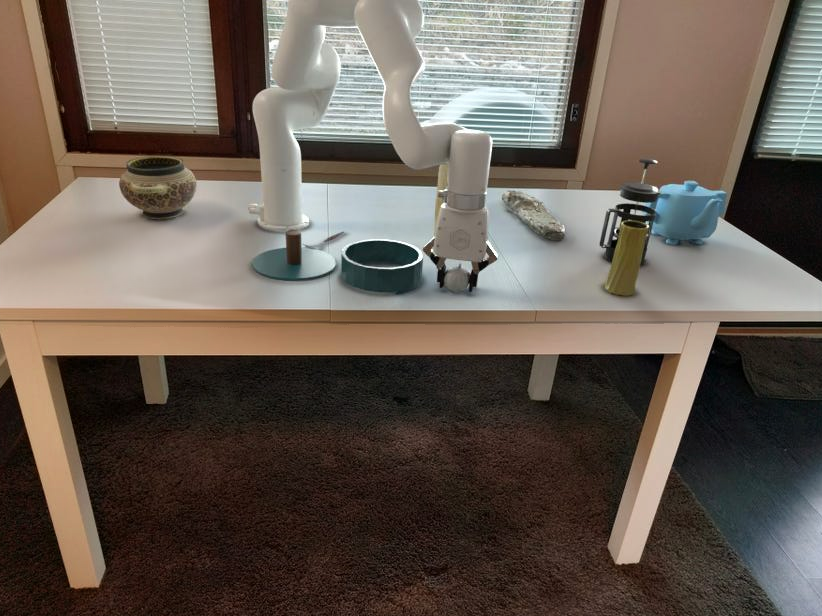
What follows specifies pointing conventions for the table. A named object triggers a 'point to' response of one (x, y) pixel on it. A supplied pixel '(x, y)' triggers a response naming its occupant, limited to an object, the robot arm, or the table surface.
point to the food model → (440, 187)
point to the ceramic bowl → (158, 185)
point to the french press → (632, 193)
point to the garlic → (457, 278)
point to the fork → (326, 240)
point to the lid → (294, 261)
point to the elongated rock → (534, 214)
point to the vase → (627, 258)
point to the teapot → (686, 212)
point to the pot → (382, 277)
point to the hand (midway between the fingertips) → (456, 286)
